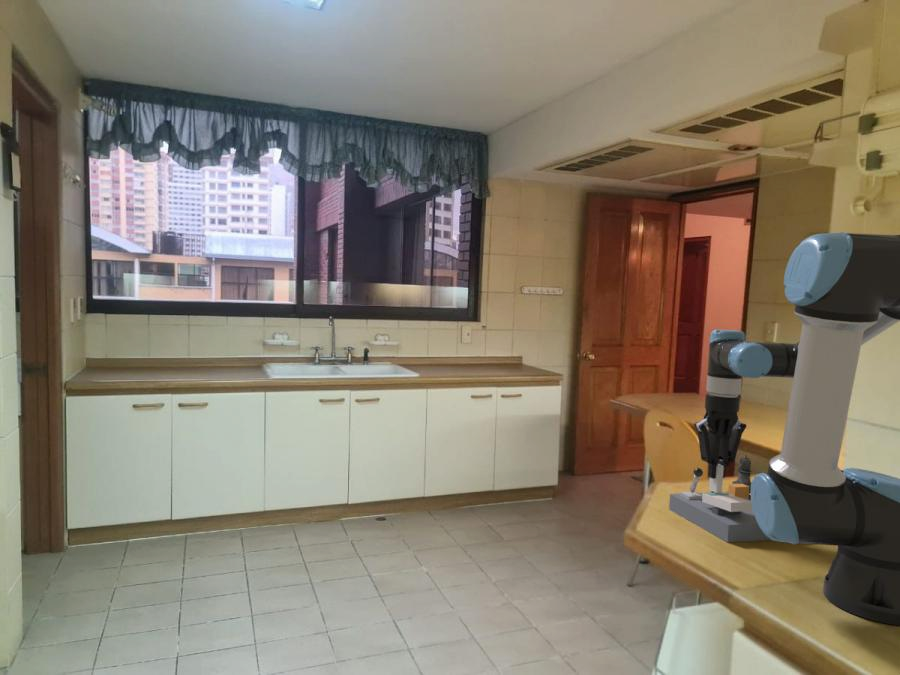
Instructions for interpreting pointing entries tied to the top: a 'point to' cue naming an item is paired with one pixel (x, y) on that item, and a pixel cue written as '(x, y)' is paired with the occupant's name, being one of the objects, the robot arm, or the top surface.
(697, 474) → the toggle
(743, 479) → the chess piece
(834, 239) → the robot arm
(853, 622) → the top surface
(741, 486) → the slider
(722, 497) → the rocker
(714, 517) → the panel
